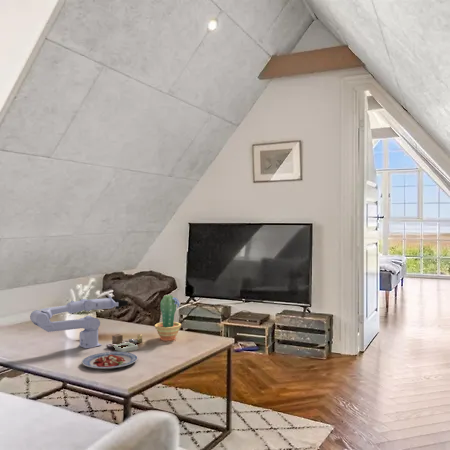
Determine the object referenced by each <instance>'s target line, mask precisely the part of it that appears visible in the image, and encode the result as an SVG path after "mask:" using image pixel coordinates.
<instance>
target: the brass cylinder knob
mask: <svg viewBox="0 0 450 450" xmlns="http://www.w3.org/2000/svg"><path fill="white" fill-rule="evenodd" d="M136 336H137V337H136V338H137V340H136V339H134V338H129V339H128V341H129V342H136V344H137V343H138V344H141V343H143V334H137V335H136Z"/></svg>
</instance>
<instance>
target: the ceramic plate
mask: <svg viewBox="0 0 450 450" xmlns="http://www.w3.org/2000/svg"><path fill="white" fill-rule="evenodd" d="M136 361H138V355H136V354H134V353H132V352H118V351H108V352H107V351H105V352H98V353H94V354H91V355H88V356H86V357H85V358H83V359H82V360H81V363H82V365H83V366H85V367H88V368H93V369H100V370H112V369H119V368H123V367H125V366H129V365H132V364H134V363H135V362H136Z"/></svg>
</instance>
